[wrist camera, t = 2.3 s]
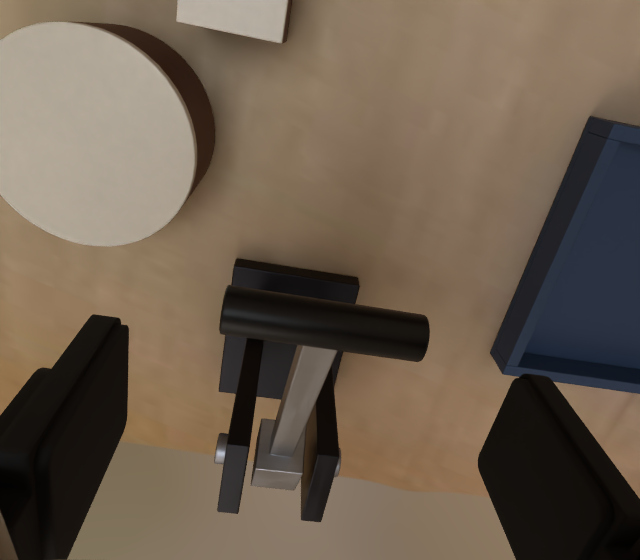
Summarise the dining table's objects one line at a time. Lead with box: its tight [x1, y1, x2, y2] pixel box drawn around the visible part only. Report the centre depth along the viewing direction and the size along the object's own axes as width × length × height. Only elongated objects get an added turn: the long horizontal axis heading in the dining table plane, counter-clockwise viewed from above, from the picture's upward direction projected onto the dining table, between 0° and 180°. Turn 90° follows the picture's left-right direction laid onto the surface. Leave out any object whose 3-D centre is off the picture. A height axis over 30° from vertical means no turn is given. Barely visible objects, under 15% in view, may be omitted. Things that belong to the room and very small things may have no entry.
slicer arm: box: [219, 285, 430, 490], centre depth 19 cm, size 14×6×2 cm, turn 169°
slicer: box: [214, 259, 360, 522], centre depth 28 cm, size 10×8×13 cm
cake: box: [0, 21, 215, 246], centre depth 24 cm, size 10×10×6 cm
